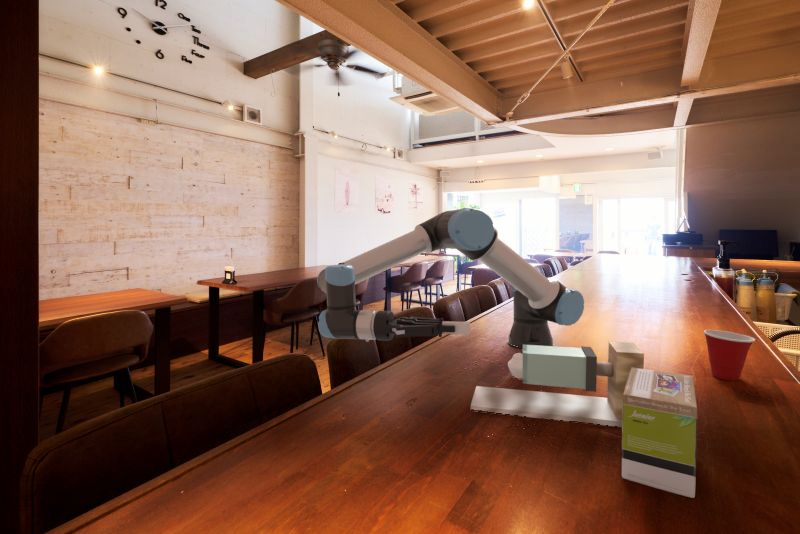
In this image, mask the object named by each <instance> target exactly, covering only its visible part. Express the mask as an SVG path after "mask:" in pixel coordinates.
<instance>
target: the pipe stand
mask: <svg viewBox="0 0 800 534" xmlns="http://www.w3.org/2000/svg"><path fill="white" fill-rule="evenodd" d="M607 359H608V361H607V362H606V361H605V362H604V361H597V376H596V377H607V393H606V394H607V397H602V396H601V397H600V396H592V395H591V396H590V395H578V394H569V393H557V392H546V391H536V390H525V389H514V388H513V389H512V388H504V387H503V388H501V387H490V386H481V385H480V386H479V385H476V387H475V390H474V392H473V396H472V400H471V403H470V410H471V409H474V410H482V411H488V412H495V413H494V414H496V413H502V414H501V415H505V414H510V415H509V416H514V415H518V416H517V417H524V416H526V418H535V419H542V418H543V420H551V419H553V421H560V420H563V421H562V422H569V421H578V422H586V423H585V424H588V423H593V424H592V425H597V424H600V425H599V426H606V425H608V427H615V426H617V427H616V428H622V399H623V393H624V389H625V386H626V383H627V380H628V377H629V373H630V370H631V368H632V367H633V368H639V369H645V353H644V351H642V350H641V349H640V347H638V346H637V345H636V344H635V342H626V341H625V342H620V341H608V358H607ZM578 422H577V423H578Z"/></svg>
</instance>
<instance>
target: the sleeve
mask: <svg viewBox="0 0 800 534" xmlns="http://www.w3.org/2000/svg"><path fill="white" fill-rule="evenodd" d="M522 354H523V367H522V378H523V379H522V384H525V385H535V386H546V387H547V386H548V387H556V388H557V387H558V388H559V387H560V388H571V389H582V390H583V389H584V390H585V389H586V356H585V354H584V352H583V350H582V348H581V347H573V346H572V347H571V346H557V345H556V346H554V345H553V346H539V345H523V348H522Z"/></svg>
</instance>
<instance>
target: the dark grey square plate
mask: <svg viewBox="0 0 800 534" xmlns="http://www.w3.org/2000/svg"><path fill="white" fill-rule="evenodd" d="M580 348H582V350H583V352H584V354H585V356H586V389H584V390H585V391H586V392H593V393H596V392H597V377H598V376H597V362H598V356H597V355H596V353H595V351H594V350H593V348H592V346H581V347H580Z"/></svg>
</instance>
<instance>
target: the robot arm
mask: <svg viewBox="0 0 800 534" xmlns="http://www.w3.org/2000/svg"><path fill="white" fill-rule="evenodd" d="M498 232H499V231H498V230H497V228H495V226H494V222H493V219H492V218H491V217H490V216H489V214H488V213H486V212H485V211H484V210H481V209H479V208H476V207H475V208H473V207H463V208H460V209H453V210H445V211H443V212H441V213H439V214H437V215H435V216H432V217H431V218H430V219H429V218H428V219H427V220H426V221H424V222H422V223H420V224H417V225H416V226H414V230H412V231H409V232H407V233H405V234H403V235H401V236H399V237H396V238H394V239H392V240H389V241H387V242H385V243H383V244H380V245H379V246H376V247H374V248H371V249H370V250H368V251H365V252H363V253H361V254H359V255H357V256H355V257H352V258H350V259H347V260H345V261H343V262H341V263H339V264H332V265H331V264H330V265H327V266H326V267H325V268H323V269H321V271H319V273H318V275H317V278H316V282H317V286H318V289H320V291H321V292H322V293H323V294H326V304H327V305H326V309H324V310H322V311H321V312H320V314H319V316H318V320H319V321H318V323H317V326H318V327H317V328H318V331H319V333H320V335H321V336H322V337H323V338H329V339H336V340H340V339H341V340H342V339H343V340H346V339H347V340H365V342H368V343H369V342H370V340H372V341H374V340H375V341H376V340H377V341H383V342H384V341H387V342H389V341H392V340H393V338H394V336H395V337H396V338H398V339H399V338H407V337H408V338H409V337H437V336H438V337H439V338H442V337H443V335H442V334H445V335H449V334H450V335H471V321H455V320H454V321H449V320H448V321H447V320H444V317H441V318H433V317H423V316H422V317H421V316H414V315H409V316H408V317H406V316H400V317H399V318H396V316H395V313H394V312H393V311H392V310H374V309H372V310H369V309H367V310H366V309H360V310H358V309H357V302H356V285H358V284H359V283H361V282H363V281H366V280H368V279H370V278H372V277H375V276H376V275H379V274H380V273H383V272H384V271H387V270H390V269H392V268H393V267H396V266H398V265H400V264H402V263H404V262H406V261H408V260H410V259H413V258H415V257H417V256H419V255H421V254H423V253H425V254H431V253H433V252H435V251H438V250H439V251H440V250H444V249H451V250H453V249H454V250H457V251H458V252H459V253H460V254H462V255H463V256H465V257H466V258H468V259H469V260H471V261H473V262H474V261H477V260H478V261H480V262H481V263H482V264H484V265H485V266H486V267H488V268H489V269H490V270H492V271H493V272H494V273H496V275H498V276H499V277H500V278H501V279H502V280H504V281H505V282H507V283H508V284H509V285H510V286H512V287H513V291H512V293H513V322H512V325H511V329H510V331H509V334H508V344H509V343H510V344H512V345H515V346H518V347H522V348H521V349H523V345H539V346H554V338H553V337H552V333H551V330H550V326H549V322H551V323H553V324H557V325H559V326H568V327H569V326H572V325H574V324H576V323H577V322H578V321H579V320H580V319H581V317H582V316H583V313H584V311H585V298H584V296H583V294H582V293H581V292H580V291H578V290H576V289H574V288H568V287H567V286H565V285H564V284H563V283H561V282H560V281H558V279H556V278H555V277H550V276H549V277H546V275H544V274H543V273H541V271H539V270H538V269H537V268H535V267H534V266H533V265H532V264H530V262H528V261H527V260H526V259H524V258H523V257H522V256H521V255H520V254H518V253H517V252H516V251H515V250H514V249H512V247H510V246H509V245H508V244H507V243H505V242H504V241H503V240H501V238H499V233H498ZM510 344H509V345H510ZM512 345H511V346H512ZM518 347H517V348H518Z"/></svg>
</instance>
